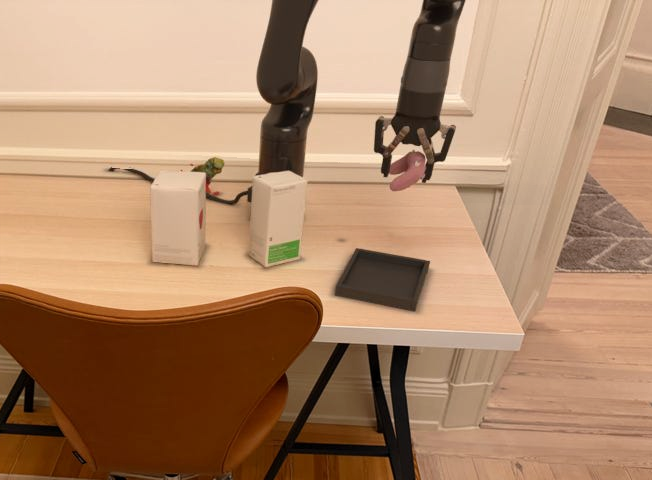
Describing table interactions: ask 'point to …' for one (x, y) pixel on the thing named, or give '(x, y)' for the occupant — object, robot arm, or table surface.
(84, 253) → the table surface
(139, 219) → the table surface
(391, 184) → the video game controller
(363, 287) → the tray
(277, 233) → the cosmetic box
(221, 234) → the table surface
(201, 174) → the rectangular carton
